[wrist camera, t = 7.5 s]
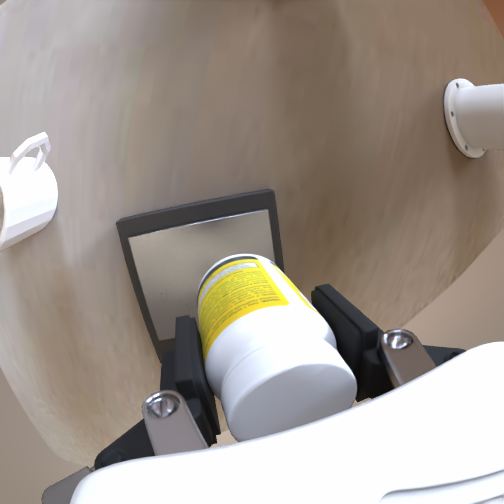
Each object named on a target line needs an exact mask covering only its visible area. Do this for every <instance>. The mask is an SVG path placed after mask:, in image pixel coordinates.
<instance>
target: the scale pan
mask: <svg viewBox="0 0 504 504" xmlns="http://www.w3.org/2000/svg"><path fill="white" fill-rule="evenodd" d="M128 241H129V245H130V248H131V252H132V256H133V260H134V263H135V267H136V271H137V274H138V277H139V281H140V284H141V288H142V291H143V294H144V297H145V300H146V304H147V307H148V310H149V313H150V316H151V319H152V322H153V325H154V328H155V330H156V333H157V336H158V339H159V341H160V340H166V339H171V338H175V324H176V317H180V316H185V315H189V316H190V318H193V317H195V319H196V323H197V327H198V330H199V333H200V327H199V317H198V310H197V294H198V289H199V285H200V283H201V281H202V279H203V277H204V275H205V274H206V272H207V271H208V270H209V269H210V268H211V267H212V266H213V265H214V264H216V263H217V262H219V261H220V260H222V259H224V258H226V257H229V256H232V255H237V254H253V255H258V256H262V257H264V258H266V259H268V260H270V261H272V262H273V263H274V264H275V265H276V263H275V255H274V248H273V240H272V232H271V225H270V218H269V210H268V209H266V208H264V209H259V210H253V211H248V212H242V213H237V214H232V215H227V216H221V217H216V218H211V219H206V220H201V221H196V222H191V223H187V224H182V225H177V226H172V227H168V228H163V229H158V230H154V231H149V232H145V233H140V234H136V235H132V236H129V237H128Z"/></svg>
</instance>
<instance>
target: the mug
mask: <svg viewBox="0 0 504 504" xmlns="http://www.w3.org/2000/svg"><path fill="white" fill-rule="evenodd" d="M37 147H39V149H40V151H39V153H38V156H37V158H31V157H24V156H25V155H26V154H27V153H28V152H29V151H30V150H32V149H35V148H37ZM50 149H51V147H50V144H49V140H48V136H47V135H46V133H45V132H43V133H41V134H38V135H36V136H34V137H32V138H29V139H27V140H26V141H25V142H24V143H23V144H22V145H21V146H20V147H19V148H18V149H17V150H16V151H15V152H14V153H13V154H12V156H11V157H0V252H2V251H4V250H5V249H7V248H9V247H11V246H13V245H14V244H16V243H18V242H20V241H22V240H24V239H25V238H27V237H29V236H31V235H33V234H35V233H37V232H39V231H40V230H42V229H43V228H45V227H46V226H47V224H48V223H49V222H50V221H51V219H52V217H53V215H54V212H55V210H56V206H57V199H58V191H57V183H56V180H55V177H54V175H53V172H52V171H51V170H50V168H49V167H48V165H47V164H46V163H44V161H45V159H46V157H47V155H48V153H49V151H50Z"/></svg>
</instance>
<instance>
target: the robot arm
mask: <svg viewBox="0 0 504 504" xmlns="http://www.w3.org/2000/svg"><path fill="white" fill-rule="evenodd" d="M444 111H445V118H446V122H447V126H448V129H449V132H450V135H451V137H452V139H453V141H454V143H455V145H456V146H457V147H458V149H459V150H460V151H461V152H462V153H463V154H464V155H466V156H468V157H472V158H478V157H481V156H482V155H483V154H484V153H485V151H486V150H487V149H496V150H504V84H496V85H485V86H476V87H475V86H474V85H473V84H472V83H470V82H469V81H467V80H465V79H455V80H453V81H451V82H450V83H449V84H448V86H447V88H446V91H445V96H444ZM311 298H312V306H313V307H314V308H315V309H316V310H317V311H318V312H319V314H320V315H321V316H322V317H323V318H324V319H325V321H326V322H327V323H328V325H329V326H330V328H331V330H332V331H333V334H334V336H335V339H336V344H337V351H338V353H339V354H340V356H341V357H342V359H343V360H344V361H345V363H346V364H347V366H348V367H349V368H350V370H351V371H352V373H353V374H354V376H355V379H356V383H357V393H356V397H355V399H356V401H357V402H360V401H362V400H364V399H367V398H371V400H370V401H367V402H365V403H363V404H360V405H358V406H355V407H353V408H350V409H348V410H345V411H342V412H340V413H337V414H334V415H332V416H329V417H326V418H323V419H321V420H318V421H315V422H312V423H309V424H306V425H302V426H299V427H296V428H293V429H289V430H286V431H282V432H279V433H275V434H272V435H268V436H264V437H260V438H256V439H252V440H247V441H243V442H238V443H234V444H229V445H224V446H218V447H213V448H210V446H211V445H212V444H215V443H217V439H216V435H219V434H221V431H220V426H219V420H218V415H217V409H216V404H215V398H214V393H213V392H212V390H211V388H210V386H209V384H208V381H207V378H206V374H205V367H204V359H203V351H202V343H201V338H200V334H199V330H198V327H197V323H196V319H195V317H193V318H190V316H189V315H185V316H180V317H176V324H175V349H172V350H166V351H163V354H162V367H161V382H160V391H157V392H155V393H153V394H151V395H150V396H148V397H147V398H146V399H145V401H144V402H143V404H142V414H143V417H144V418H143V419H142V420H141V421H140V422H139V423H137V424H136V425H135V426H134V427H132V428H131V429H130V430H128V431H127V432H126V433H125V434H123V435H122V436H121V437H120V438H118V439H117V440H116V441H114V442H113V443H112V444H110V445H109V446H108V447H107V448H105V449H104V450H103V451H101V452H100V453H99V454H98V456H97V457H96V459H95V464H94V466H93V467H92V468H89V467H88V466H86V467H84V468H83V469H81V470H79V471H78V472H76V473H74V474H72V475H70V476H68V477H66V478H65V479H63V480H61V481H59V482H57V483H55V484H53V485H51V486H49V487H48V488H47V489H45V491H44V492H43V494H42V504H504V342H493V343H488V344H484V345H480V346H478V347H475V348H472V349H470V350H468V351H466V350H463V349H458V348H446V347H436V346H426V345H422V344H421V343H420V341H419V340H418V338H417V337H416V336H415V335H414V334H413V333H412V332H410V331H408V330H405V329H391V330H388V331H386V332H385V333H384V332H383V331H382V330H381V329H380V328H379V327H378V326H376V325H375V324H374V323H373V322H372V321H371V320H370V319H369V318H367V317H366V316H365V315H364V314H363V313H362V312H361V311H359V310H358V309H357V308H356V307H355V306H354V305H353V304H351V303H350V302H349V301H348V300H347V299H346V298H345V297H343V296H342V295H341V294H340V293H339V292H338V291H336V290H335V289H334V288H333V287H332V286H331V285H330V284H324V285H320V286H316V287H315V290H314V291H312V292H311Z"/></svg>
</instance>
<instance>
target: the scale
mask: <svg viewBox="0 0 504 504" xmlns="http://www.w3.org/2000/svg"><path fill="white" fill-rule="evenodd" d="M264 208H266V209H268V210H269V218H270V225H271V232H272V240H273V248H274V255H275V263H276V266H278V267H279V269H280V270H281V271H282V272H283V273H284V265H283V256H282V248H281V240H280V232H279V224H278V216H277V208H276V201H275V194H274V191H273V190H270V189H266V190H259V191H253V192H248V193H242V194H236V195H231V196H225V197H220V198H214V199H209V200H204V201H199V202H194V203H189V204H184V205H179V206H175V207H170V208H165V209H161V210H156V211H152V212H147V213H143V214H139V215H134V216H130V217H126V218H122V219H120V220H119V221H117V222H116V225H117V229H118V233H119V237H120V241H121V245H122V249H123V252H124V256H125V260H126V263H127V267H128V270H129V274H130V277H131V280H132V284H133V287H134V290H135V293H136V297H137V300H138V303H139V306H140V309H141V312H142V315H143V318H144V320H145V323H146V326H147V329H148V332H149V334H150V337H151V340H152V342H153V345H154V348H155V350H156V353H157V355H158V358H159V360H160V363H162V354H163V351H166V350H172V349H175V338H171V339H166V340H160V341H159V339H158V336H157V333H156V330H155V328H154V325H153V322H152V319H151V316H150V313H149V310H148V307H147V304H146V300H145V297H144V294H143V291H142V288H141V284H140V281H139V277H138V274H137V271H136V267H135V263H134V260H133V256H132V252H131V248H130V245H129V241H128V237H129V236H132V235H136V234H140V233H145V232H149V231H154V230H158V229H163V228H168V227H172V226H177V225H182V224H187V223H191V222H196V221H201V220H206V219H211V218H216V217H221V216H227V215H232V214H237V213H242V212H248V211H253V210H259V209H264ZM284 274H285V273H284ZM199 334H200V333H199ZM200 338H201V335H200Z"/></svg>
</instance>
